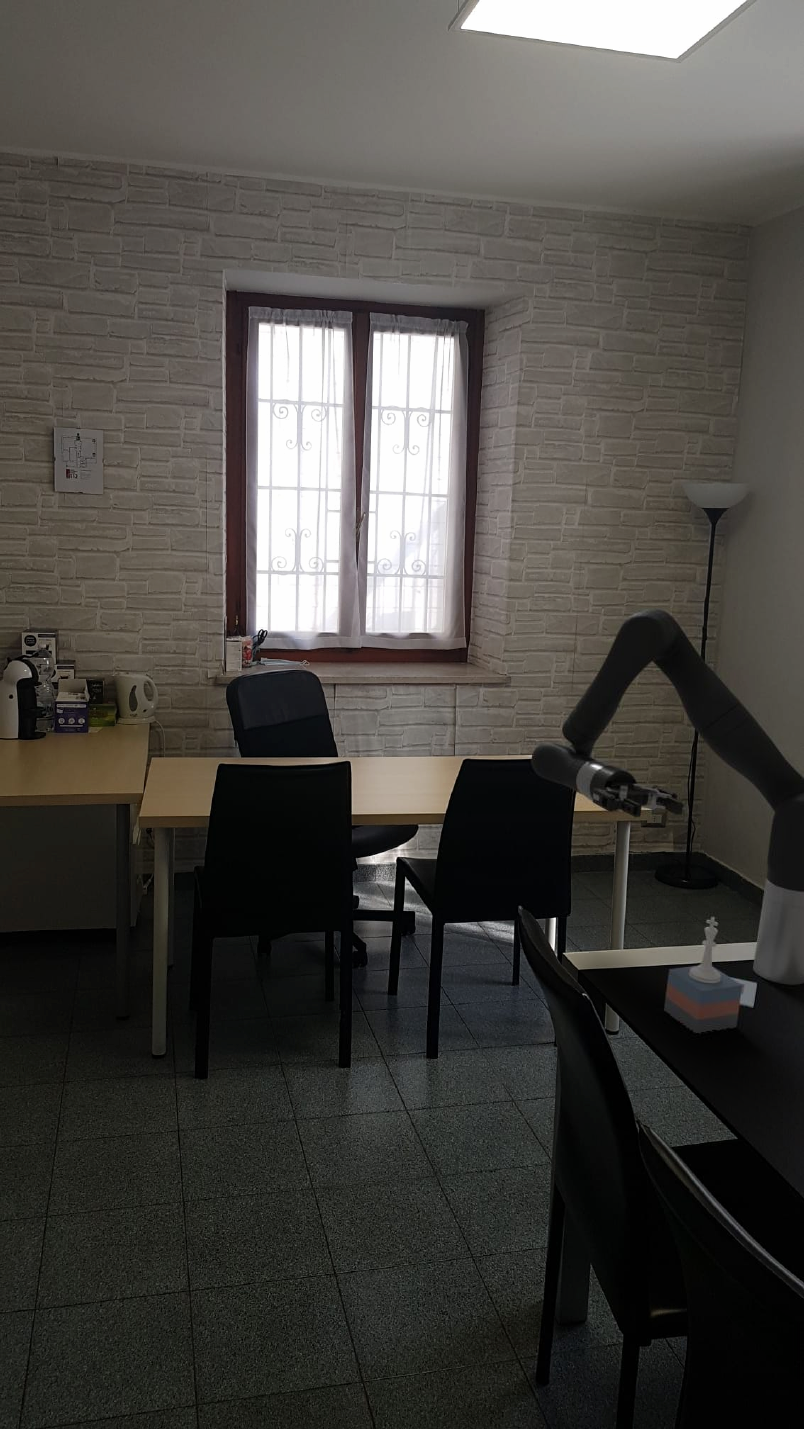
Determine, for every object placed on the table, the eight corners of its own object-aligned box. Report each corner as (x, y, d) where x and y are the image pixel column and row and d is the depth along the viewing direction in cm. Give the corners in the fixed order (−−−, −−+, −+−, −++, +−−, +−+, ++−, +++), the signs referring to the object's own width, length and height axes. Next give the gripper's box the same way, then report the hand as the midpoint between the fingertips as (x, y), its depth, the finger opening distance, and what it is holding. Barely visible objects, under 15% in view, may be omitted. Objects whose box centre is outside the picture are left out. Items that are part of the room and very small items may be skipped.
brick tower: (663, 1010, 173) (669, 969, 172) (703, 1004, 177) (709, 964, 175) (695, 1033, 166) (701, 991, 165) (736, 1027, 170) (742, 985, 168)
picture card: (715, 975, 188) (715, 973, 188) (756, 984, 186) (757, 982, 186) (709, 998, 179) (710, 995, 179) (753, 1008, 177) (753, 1005, 177)
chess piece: (713, 986, 167) (722, 926, 165) (684, 976, 170) (691, 917, 168) (725, 977, 171) (733, 917, 169) (696, 967, 174) (703, 909, 172)
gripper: (574, 766, 191) (628, 790, 177) (640, 763, 197) (697, 787, 182) (570, 806, 193) (622, 833, 178) (635, 802, 198) (691, 829, 184)
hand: (660, 810), depth 180 cm, fingers open, 8 cm apart
